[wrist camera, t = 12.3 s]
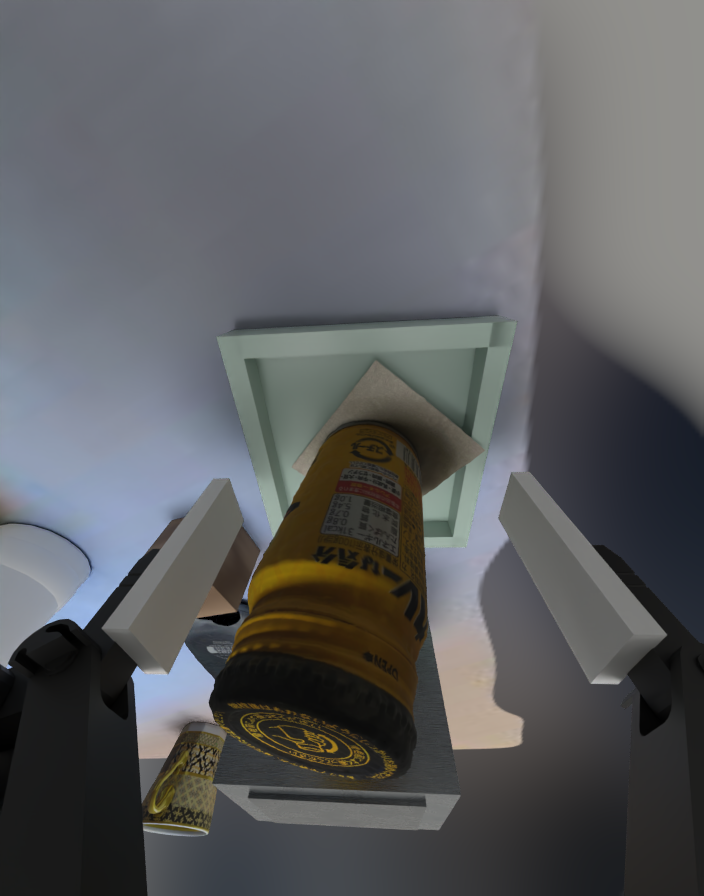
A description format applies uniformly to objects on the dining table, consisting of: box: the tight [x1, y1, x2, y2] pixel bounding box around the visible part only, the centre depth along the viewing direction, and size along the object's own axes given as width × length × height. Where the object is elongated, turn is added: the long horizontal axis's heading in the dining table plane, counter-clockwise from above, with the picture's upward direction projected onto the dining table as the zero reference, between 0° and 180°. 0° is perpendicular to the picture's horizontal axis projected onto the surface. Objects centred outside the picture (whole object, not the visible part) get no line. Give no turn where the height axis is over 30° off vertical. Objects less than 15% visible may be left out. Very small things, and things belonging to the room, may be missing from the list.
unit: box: [212, 616, 461, 830], centre depth 21 cm, size 10×12×12 cm
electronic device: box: [184, 603, 250, 679], centre depth 30 cm, size 9×6×15 cm
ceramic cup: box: [142, 722, 226, 836], centre depth 42 cm, size 13×10×10 cm
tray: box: [216, 316, 517, 548], centre depth 17 cm, size 14×13×2 cm
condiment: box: [209, 360, 485, 781], centre depth 11 cm, size 7×8×12 cm
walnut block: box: [145, 518, 260, 618], centre depth 20 cm, size 5×5×5 cm
